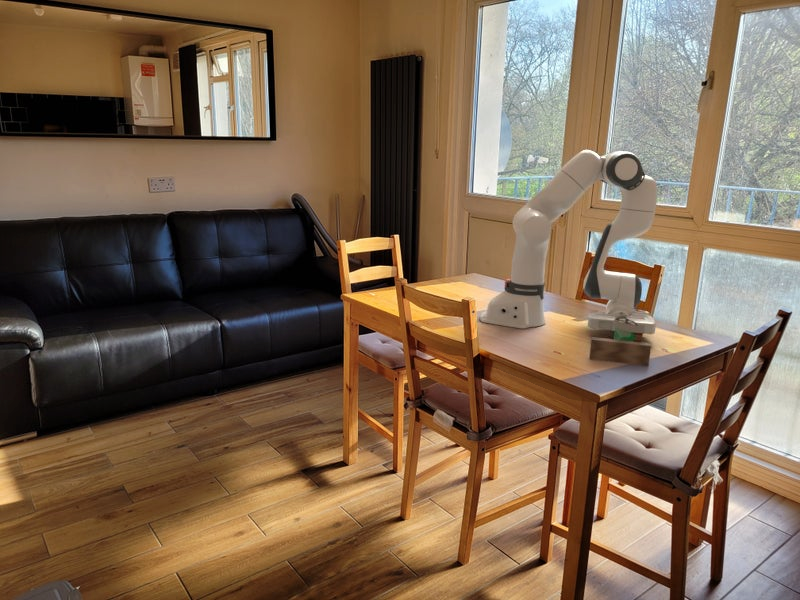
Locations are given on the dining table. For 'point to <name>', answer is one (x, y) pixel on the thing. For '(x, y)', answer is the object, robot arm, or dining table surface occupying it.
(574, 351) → the dining table surface
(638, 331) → the food container
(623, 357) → the walnut bar
